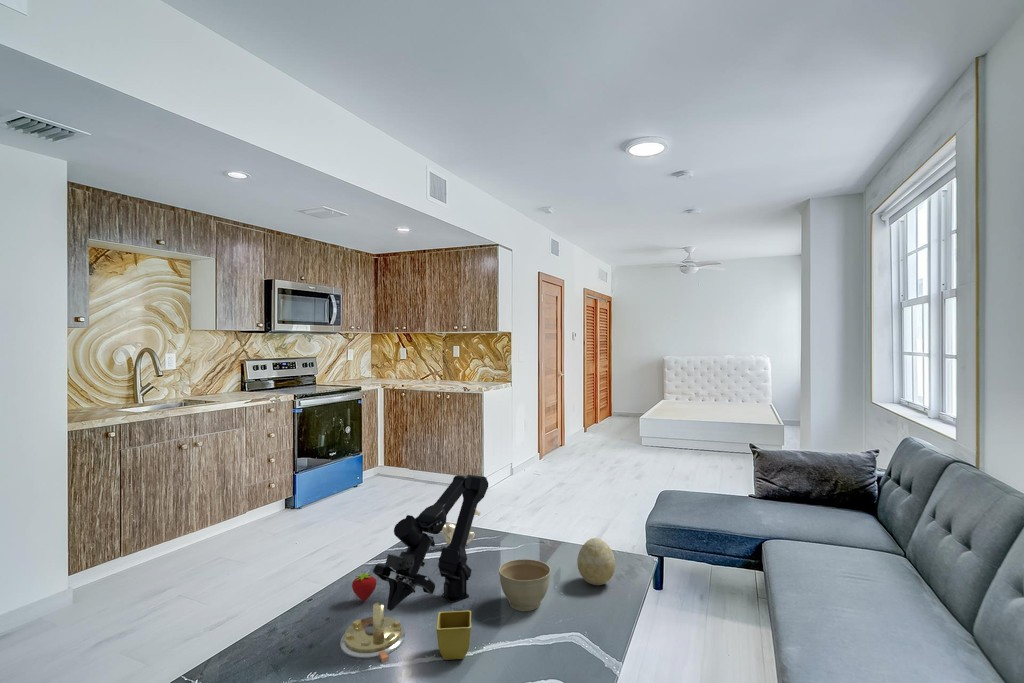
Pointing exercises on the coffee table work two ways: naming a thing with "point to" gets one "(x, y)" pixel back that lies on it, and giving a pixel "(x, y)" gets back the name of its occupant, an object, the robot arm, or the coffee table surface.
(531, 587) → the planter bowl
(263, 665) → the coffee table surface
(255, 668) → the coffee table surface
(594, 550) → the fossilized egg
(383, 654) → the tab
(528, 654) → the coffee table surface
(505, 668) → the coffee table surface
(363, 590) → the strawberry
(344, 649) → the base plate
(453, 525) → the unicorn
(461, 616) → the flower pot
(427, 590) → the robot arm
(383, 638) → the crank disc
